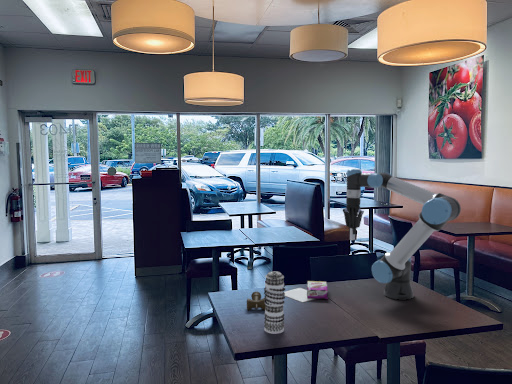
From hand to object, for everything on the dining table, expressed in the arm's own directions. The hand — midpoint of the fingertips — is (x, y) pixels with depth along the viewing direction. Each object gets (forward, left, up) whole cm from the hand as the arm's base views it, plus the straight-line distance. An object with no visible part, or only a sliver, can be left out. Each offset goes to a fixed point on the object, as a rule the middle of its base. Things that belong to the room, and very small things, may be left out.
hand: (352, 239), depth 227 cm
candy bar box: (+3, +24, -27) cm, 36 cm away
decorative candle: (-12, +68, -30) cm, 75 cm away
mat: (+14, +26, -29) cm, 42 cm away
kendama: (+14, +56, -30) cm, 65 cm away
